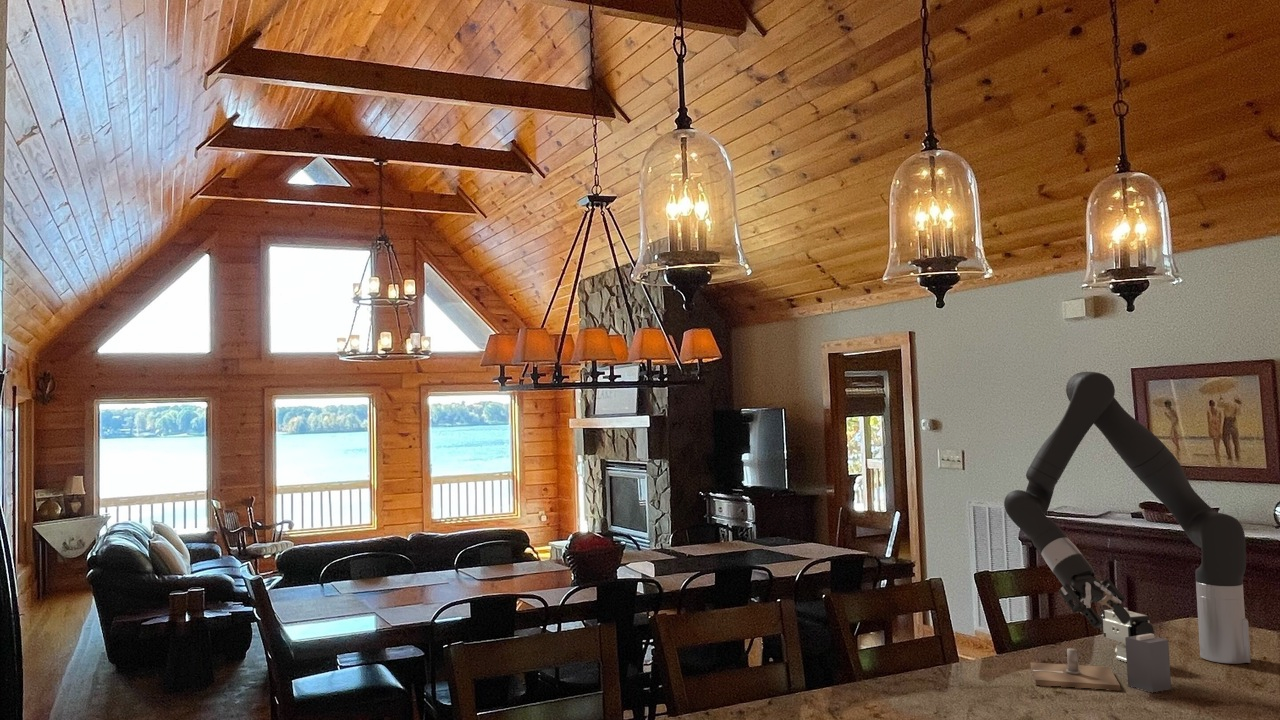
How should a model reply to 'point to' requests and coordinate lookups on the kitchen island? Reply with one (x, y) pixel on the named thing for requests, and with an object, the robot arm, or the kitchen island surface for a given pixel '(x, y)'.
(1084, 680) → the panel
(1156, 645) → the grey rectangular block
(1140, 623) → the pneumatic valve
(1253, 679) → the kitchen island surface
